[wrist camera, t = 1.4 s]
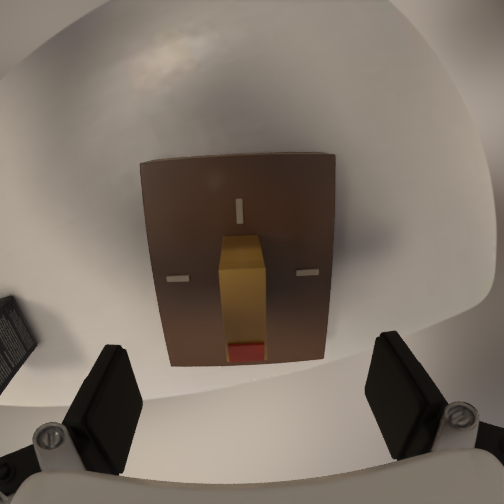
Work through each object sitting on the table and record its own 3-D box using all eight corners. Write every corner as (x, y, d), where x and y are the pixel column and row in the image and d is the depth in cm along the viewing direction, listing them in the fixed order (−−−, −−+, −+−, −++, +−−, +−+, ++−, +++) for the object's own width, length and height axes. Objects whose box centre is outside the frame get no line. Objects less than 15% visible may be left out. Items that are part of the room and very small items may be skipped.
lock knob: (223, 235, 18) (217, 272, 13) (258, 234, 18) (266, 270, 13) (228, 312, 20) (226, 365, 15) (260, 310, 20) (267, 363, 15)
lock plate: (152, 159, 19) (138, 163, 16) (322, 152, 20) (336, 154, 17) (177, 343, 24) (170, 368, 21) (315, 336, 24) (324, 360, 21)
